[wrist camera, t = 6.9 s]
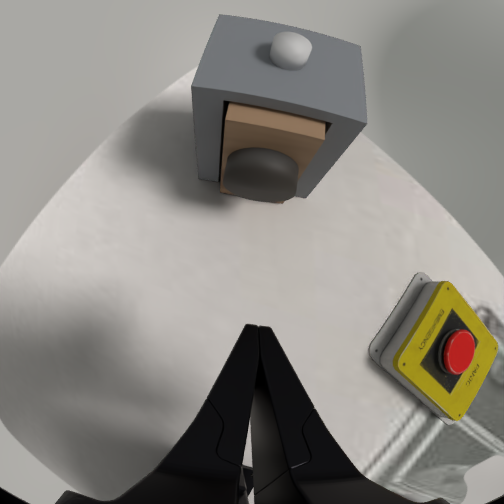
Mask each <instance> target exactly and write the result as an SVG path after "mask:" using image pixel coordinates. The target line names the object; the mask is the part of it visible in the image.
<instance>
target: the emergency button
mask: <svg viewBox="0 0 504 504" xmlns="http://www.w3.org/2000/svg"><path fill="white" fill-rule="evenodd" d="M497 352H498V343H497V342H496V340H495V339H494V337H493V336H492V335H491V333H490V332H489V330H488V329H487V328H486V326H485V325H484V324H483V322H482V321H481V320H480V318H479V317H478V316H477V314H476V313H475V312H474V311H473V309H472V308H471V307H470V305H469V304H468V303H467V302H466V300H465V299H464V298H463V297H462V295H461V294H460V293H459V292H458V291H457V289H456V288H455V287H454V286H453V284H452V283H450V282H449V281H441V282H433V281H432V280H431V279H430V278H429V277H428V275H426V274H425V273H417V274H416V275H415V276H414V278H413V280H412V281H411V283H410V285H409V286H408V288H407V290H406V291H405V293H404V294H403V296H402V298H401V299H400V301H399V302H398V304H397V306H396V307H395V309H394V310H393V312H392V313H391V315H390V316H389V318H388V319H387V321H386V322H385V324H384V325H383V327H382V328H381V330H380V331H379V333H378V334H377V335H376V337H375V338H374V340H373V341H372V343H371V345H370V347H369V354H370V356H371V358H372V359H373V360H374V361H375V362H376V363H377V364H378V365H379V366H381V367H382V368H383V369H384V370H385V371H386V372H387V373H389V374H390V375H391V376H392V377H393V378H394V379H395V380H397V381H398V382H399V383H400V384H401V385H402V386H403V387H405V388H406V389H407V390H408V391H409V392H410V393H411V394H412V395H414V396H415V397H416V398H417V399H418V400H419V401H420V402H422V403H423V404H424V405H425V406H426V407H427V408H428V409H430V410H431V411H432V412H433V413H434V414H435V415H436V416H438V417H439V418H440V419H441V420H442V421H443V422H444V423H446V424H448V425H451V424H453V423H454V422H455V421H458V420H460V419H461V418H462V417H463V416H464V414H465V413H466V411H467V409H468V408H469V406H470V404H471V403H472V401H473V399H474V397H475V396H476V394H477V392H478V390H479V388H480V387H481V385H482V383H483V381H484V379H485V377H486V375H487V373H488V371H489V369H490V367H491V365H492V363H493V361H494V359H495V357H496V355H497Z"/></svg>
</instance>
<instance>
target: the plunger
mask: <svg viewBox="0 0 504 504" xmlns="http://www.w3.org/2000/svg"><path fill="white" fill-rule="evenodd" d="M324 140H325V121H323V120H319V119H315V118H311V117H307V116H303V115H299V114H294V113H290V112H285V111H281V110H276V109H271V108H266V107H261V106H256V105H250V104H244V103H239V102H232V101H230V103H229V107H228V111H227V115H226V119H225V130H224V142H223V155H222V169H221V183H220V192H221V193H227V194H233V195H237V196H240V197H243V198H246V199H250V200H255V201H262V202H277V203H282V204H283V203H284V201H285V200H289V199H291V198H293V197H294V196H295V195H296V191H297V182H298V180H299V178H300V177H301V175H302V174H303V172H304V171H305V169H306V168H307V166H308V165H309V163H310V162H311V160H312V158H313V157H314V155H315V154H316V152H317V151H318V149H319V148H320V146H321V145H322V143H323V142H324Z"/></svg>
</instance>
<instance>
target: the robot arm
mask: <svg viewBox="0 0 504 504" xmlns="http://www.w3.org/2000/svg"><path fill="white" fill-rule="evenodd" d="M249 421H250V423H251V444H252V465H253V468H250V467H247V466H243V465H242V463H243V457H244V451H245V445H246V439H247V433H248V427H249ZM252 473H253V476H251V474H252ZM253 487H254V495H255V496H254V504H450V503H448V502H447V501H446V500H444V499H443V498H438V499H434V500H431V501H428V502H424V503H418V502H413V501H411V500H408V499H406V498H404V497H402V496H400V495H398V494H396V493H394V492H392V491H390V490H388V489H386V488H384V487H382V486H380V485H378V484H376V483H375V482H373V481H371V480H369V479H368V478H366V477H365V476H364V475H363V474H361V473H360V472H359V471H358V470H357V468H356V467H355V466H354V465H353V463H352V462H351V461H350V459H349V458H348V457H347V455H346V454H345V453H344V451H343V450H342V449H341V447H340V446H339V445H338V443H337V442H336V441H335V439H334V438H333V436H332V435H331V434H330V432H329V431H328V429H327V428H326V426H325V424H324V423H323V421H322V419H321V418H320V416H319V414H318V412H317V410H316V409H314V405H313V403H312V402H311V400H310V398H309V396H308V394H307V393H306V391H305V389H304V387H303V385H302V383H301V382H300V380H299V378H298V376H297V374H296V373H295V371H294V369H293V367H292V365H291V363H290V362H289V360H288V358H287V356H286V354H285V352H284V351H283V349H282V347H281V345H280V343H279V341H278V339H277V338H276V336H275V334H274V332H273V330H272V328H271V327H268V326H257V325H253V324H246V325H245V326H244V328H243V330H242V332H241V334H240V336H239V338H238V340H237V342H236V344H235V346H234V347H233V349H232V351H231V353H230V355H229V357H228V359H227V361H226V363H225V365H224V366H223V368H222V370H221V372H220V374H219V376H218V378H217V380H216V382H215V383H214V385H213V387H212V389H211V391H210V393H209V395H208V396H207V399H206V400H205V402H204V404H203V405H202V407H201V409H200V411H199V412H198V414H197V416H196V417H195V419H194V421H193V422H192V423H191V425H190V426H189V427H188V429H187V430H186V432H185V433H184V434H183V435H182V437H181V438H180V439H179V441H178V442H177V443H176V444H175V446H174V447H173V448H172V449H171V451H170V452H169V453H168V454H167V455H166V457H165V458H164V459H163V460H162V461H161V462H160V464H159V465H158V466H157V467H156V468H155V469H154V470H153V471H152V472H150V473H149V474H148V475H147V476H146V477H144V478H143V479H142V480H141V481H139V482H138V483H137V484H135V485H134V486H133V487H132V488H130V489H129V490H128V491H126V492H125V493H124V494H122V495H121V496H120V497H118V498H116V499H115V500H111V501H100V500H96V499H93V498H90V497H87V496H84V495H82V494H79V493H75V492H72V491H69V490H67V491H65V492H64V493H63V495H62V496H61V497H60V498H59V499H58V501H57V502H56V503H55V504H249V501H248V495H249V494H250V492H251V490H252V489H253ZM0 504H29V503H28V502H26V501H24V500H22V499H20V498H18V497H16V496H14V495H13V494H11V493H9V492H7V491H6V490H4V489H2V488H1V487H0ZM486 504H504V495H502V496H500V497H498V498H496V499H494V500H492V501H490V502H488V503H486Z"/></svg>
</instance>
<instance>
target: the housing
mask: <svg viewBox="0 0 504 504" xmlns="http://www.w3.org/2000/svg"><path fill="white" fill-rule="evenodd" d="M191 90H192V105H193V119H194V132H195V144H196V156H197V167H198V177H199V179H203V180H210V181H216V182H218V181H219V176H220V171H221V166H222V155H223V142H224V130H225V119H226V115H227V111H228V107H229V103H230V101H232V102H239V103H244V104H250V105H256V106H261V107H266V108H271V109H276V110H281V111H285V112H290V113H294V114H299V115H303V116H307V117H311V118H315V119H319V120H323V121H325V140H324V142H323V143H322V145H321V146H320V148H319V149H318V151H317V152H316V154H315V155H314V157H313V158H312V160H311V162H310V163H309V165H308V166H307V168H306V169H305V171H304V172H303V174H302V175H301V177H300V178H299V180H298V182H297V191H296V195H295V196H298V197H302V198H307V196H308V195H309V194H310V193H311V192H312V190H313V189H314V188H315V187H316V185H317V184H318V183H319V182H320V181H321V179H322V178H323V177H324V176H325V175H326V173H327V172H328V171H329V170H330V168H331V167H332V166H333V165H334V164H335V162H336V161H337V160H338V159H339V158H340V156H341V155H342V154H343V153H344V151H345V150H346V149H347V148H348V147H349V145H350V144H351V143H352V142H353V140H354V139H355V138H356V137H357V136H358V134H359V133H360V132H361V131H362V129H363V128H364V127H365V126H366V124H367V109H366V95H365V83H364V72H363V63H362V54H361V46H359V45H356V44H353V43H350V42H347V41H344V40H341V39H338V38H334V37H331V36H327V35H324V34H320V33H317V32H313V31H309V30H305V29H301V28H297V27H293V26H288V25H283V24H278V23H274V22H269V21H263V20H257V19H251V18H244V17H237V16H230V15H219V17H218V19H217V21H216V24H215V26H214V28H213V31H212V33H211V35H210V38H209V40H208V43H207V45H206V48H205V50H204V53H203V56H202V58H201V61H200V64H199V66H198V69H197V71H196V74H195V77H194V80H193V83H192V85H191Z"/></svg>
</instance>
